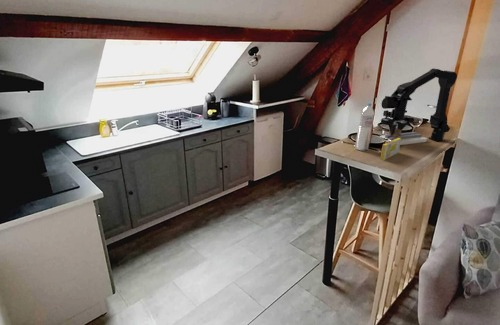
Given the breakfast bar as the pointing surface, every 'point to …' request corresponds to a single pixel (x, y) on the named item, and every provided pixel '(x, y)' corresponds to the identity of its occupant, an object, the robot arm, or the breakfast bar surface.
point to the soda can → (371, 133)
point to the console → (407, 138)
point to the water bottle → (365, 128)
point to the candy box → (390, 148)
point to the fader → (396, 132)
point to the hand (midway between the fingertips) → (394, 134)
